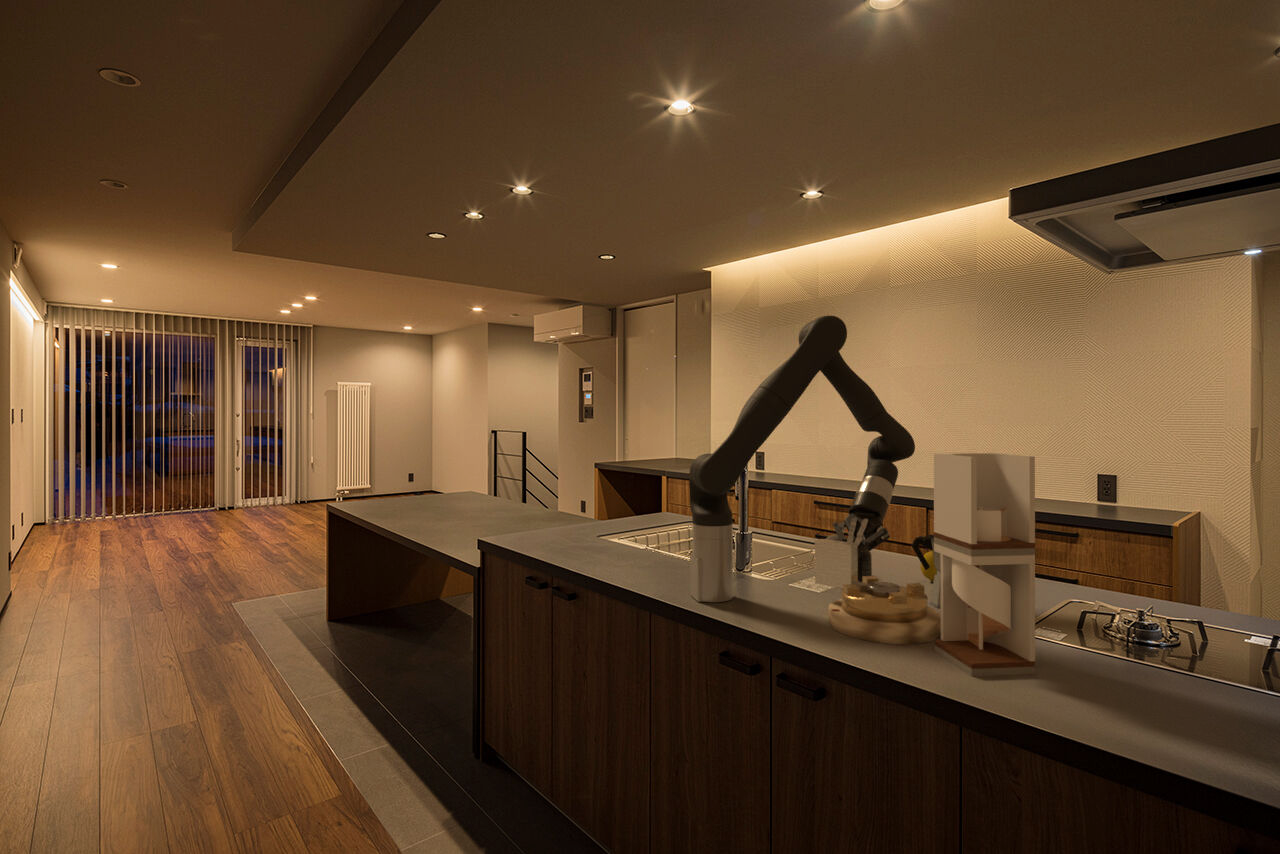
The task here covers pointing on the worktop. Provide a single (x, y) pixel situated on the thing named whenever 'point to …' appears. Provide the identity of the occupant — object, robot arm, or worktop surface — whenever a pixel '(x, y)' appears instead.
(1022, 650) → the white tower model
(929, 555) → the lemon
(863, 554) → the supplement bottle
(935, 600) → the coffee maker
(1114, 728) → the worktop surface
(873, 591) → the gold stand with panel
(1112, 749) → the worktop surface
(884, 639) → the cap plate
